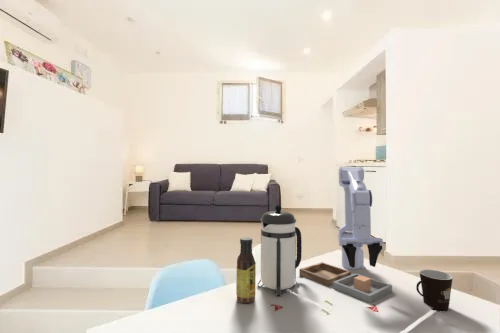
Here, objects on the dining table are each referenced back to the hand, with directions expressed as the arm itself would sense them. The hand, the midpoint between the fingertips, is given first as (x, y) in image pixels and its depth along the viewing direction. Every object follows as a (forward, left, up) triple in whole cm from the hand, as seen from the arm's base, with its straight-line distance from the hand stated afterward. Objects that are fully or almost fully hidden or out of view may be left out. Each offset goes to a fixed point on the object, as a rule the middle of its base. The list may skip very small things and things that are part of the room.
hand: (362, 266), depth 94 cm
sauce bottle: (+33, -22, -10) cm, 41 cm away
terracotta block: (-3, -2, -9) cm, 10 cm away
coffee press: (+17, -23, -10) cm, 30 cm away
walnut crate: (-3, -18, -10) cm, 21 cm away
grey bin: (-3, -2, -10) cm, 11 cm away
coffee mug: (-11, +16, -10) cm, 22 cm away
